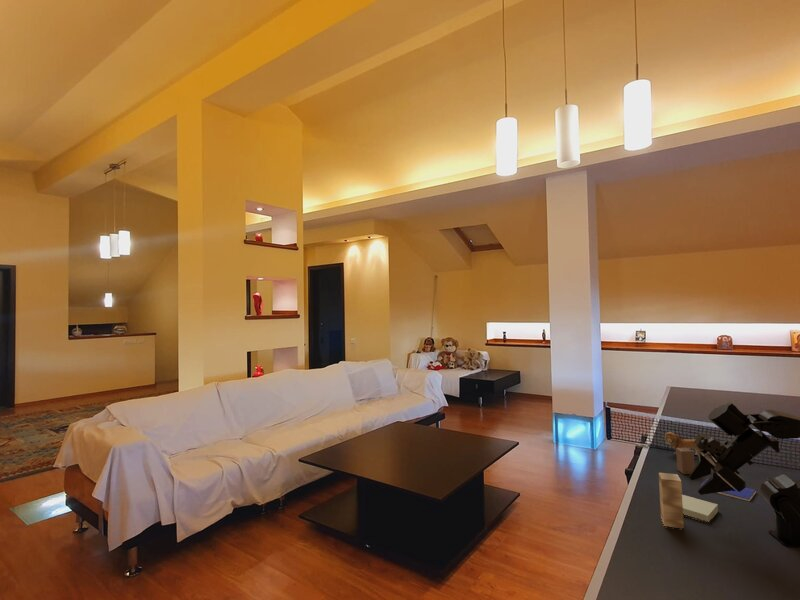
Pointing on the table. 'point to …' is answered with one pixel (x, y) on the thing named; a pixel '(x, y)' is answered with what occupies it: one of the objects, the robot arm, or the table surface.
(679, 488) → the maple post
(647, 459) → the table surface
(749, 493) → the hard drive
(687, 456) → the wooden block
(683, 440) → the lion figurine
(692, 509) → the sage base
